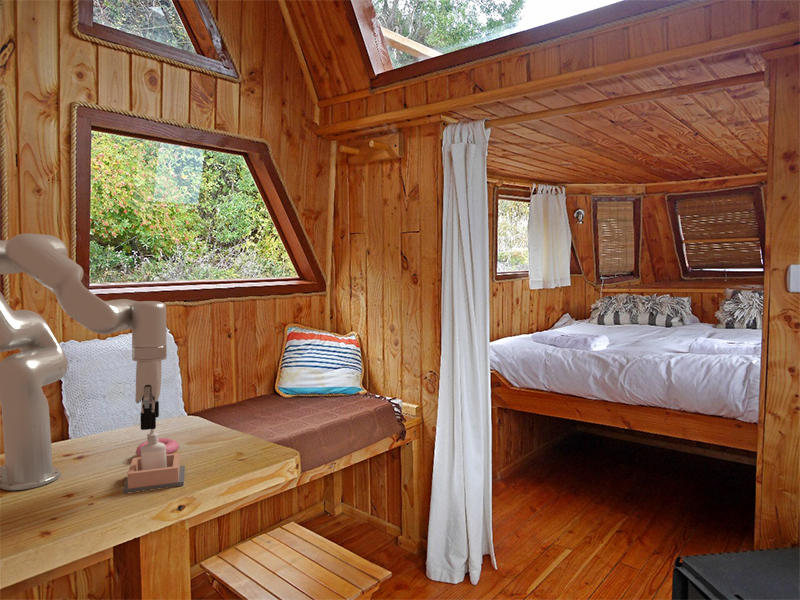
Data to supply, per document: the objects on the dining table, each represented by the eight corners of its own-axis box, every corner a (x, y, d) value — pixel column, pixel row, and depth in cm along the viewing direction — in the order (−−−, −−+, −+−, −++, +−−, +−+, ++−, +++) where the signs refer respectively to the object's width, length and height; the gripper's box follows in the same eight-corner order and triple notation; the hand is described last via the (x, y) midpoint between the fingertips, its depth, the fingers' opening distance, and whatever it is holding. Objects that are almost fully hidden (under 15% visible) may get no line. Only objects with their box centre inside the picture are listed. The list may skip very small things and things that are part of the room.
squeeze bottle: (161, 480, 133) (159, 431, 132) (138, 480, 134) (136, 431, 133) (170, 473, 138) (168, 426, 137) (147, 473, 138) (145, 425, 137)
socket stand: (122, 493, 129) (122, 474, 128) (128, 476, 139) (128, 458, 139) (183, 485, 133) (182, 467, 133) (184, 469, 143) (184, 452, 143)
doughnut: (147, 449, 158) (146, 435, 158) (185, 449, 158) (185, 435, 158) (128, 464, 147) (127, 448, 147) (169, 464, 147) (169, 448, 147)
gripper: (136, 347, 140) (136, 414, 142) (127, 360, 124) (128, 435, 125) (168, 346, 143) (168, 412, 144) (164, 359, 127) (164, 432, 128)
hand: (150, 423), depth 135 cm, fingers open, 9 cm apart
